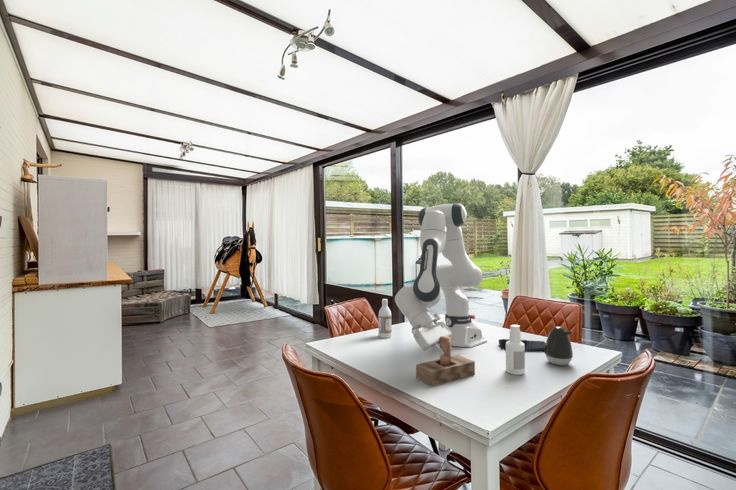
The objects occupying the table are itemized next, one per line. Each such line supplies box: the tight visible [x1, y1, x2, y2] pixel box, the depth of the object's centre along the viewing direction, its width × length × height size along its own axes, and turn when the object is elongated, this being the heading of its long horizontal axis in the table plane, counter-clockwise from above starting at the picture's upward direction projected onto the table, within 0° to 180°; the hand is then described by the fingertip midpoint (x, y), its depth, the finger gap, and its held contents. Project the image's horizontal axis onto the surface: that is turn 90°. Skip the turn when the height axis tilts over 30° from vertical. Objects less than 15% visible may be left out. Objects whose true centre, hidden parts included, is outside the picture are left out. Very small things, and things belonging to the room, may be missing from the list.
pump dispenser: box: [544, 326, 574, 366], centre depth 144 cm, size 10×10×15 cm
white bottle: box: [505, 324, 526, 376], centre depth 136 cm, size 7×7×18 cm
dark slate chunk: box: [498, 338, 546, 352], centre depth 166 cm, size 15×22×5 cm
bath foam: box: [377, 298, 393, 339], centre depth 187 cm, size 7×7×20 cm
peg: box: [439, 336, 452, 367], centre depth 132 cm, size 4×4×12 cm
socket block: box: [415, 354, 476, 387], centre depth 132 cm, size 21×9×5 cm, turn 119°
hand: (446, 352), depth 132 cm, fingers closed on peg, 4 cm apart
